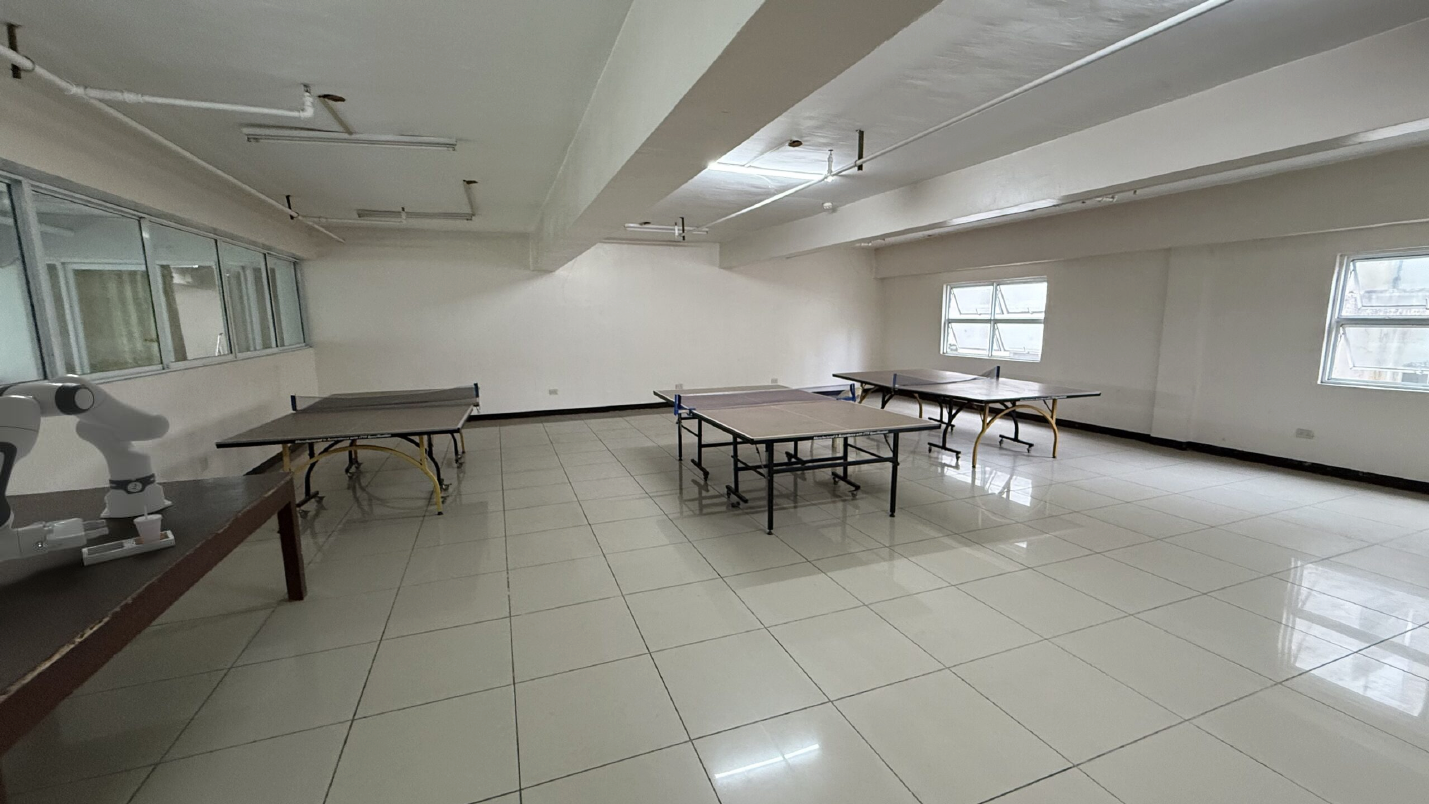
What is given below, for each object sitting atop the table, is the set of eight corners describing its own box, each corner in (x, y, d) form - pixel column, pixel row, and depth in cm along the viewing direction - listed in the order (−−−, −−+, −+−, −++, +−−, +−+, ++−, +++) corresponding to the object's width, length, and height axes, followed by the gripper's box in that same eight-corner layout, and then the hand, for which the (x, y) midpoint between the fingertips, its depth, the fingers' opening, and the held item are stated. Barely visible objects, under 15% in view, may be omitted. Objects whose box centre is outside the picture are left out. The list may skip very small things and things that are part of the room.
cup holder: (83, 556, 166) (81, 548, 166) (171, 537, 182) (170, 530, 181) (84, 565, 160) (83, 558, 160) (175, 545, 176) (174, 538, 175)
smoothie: (132, 550, 170) (125, 509, 168) (147, 542, 177) (141, 502, 174) (157, 548, 172) (150, 508, 170) (170, 540, 178) (164, 501, 176)
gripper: (34, 539, 149) (108, 525, 159) (35, 521, 161) (103, 509, 172) (38, 560, 150) (111, 544, 160) (38, 540, 162) (106, 527, 173)
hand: (107, 526), depth 166 cm, fingers open, 8 cm apart
